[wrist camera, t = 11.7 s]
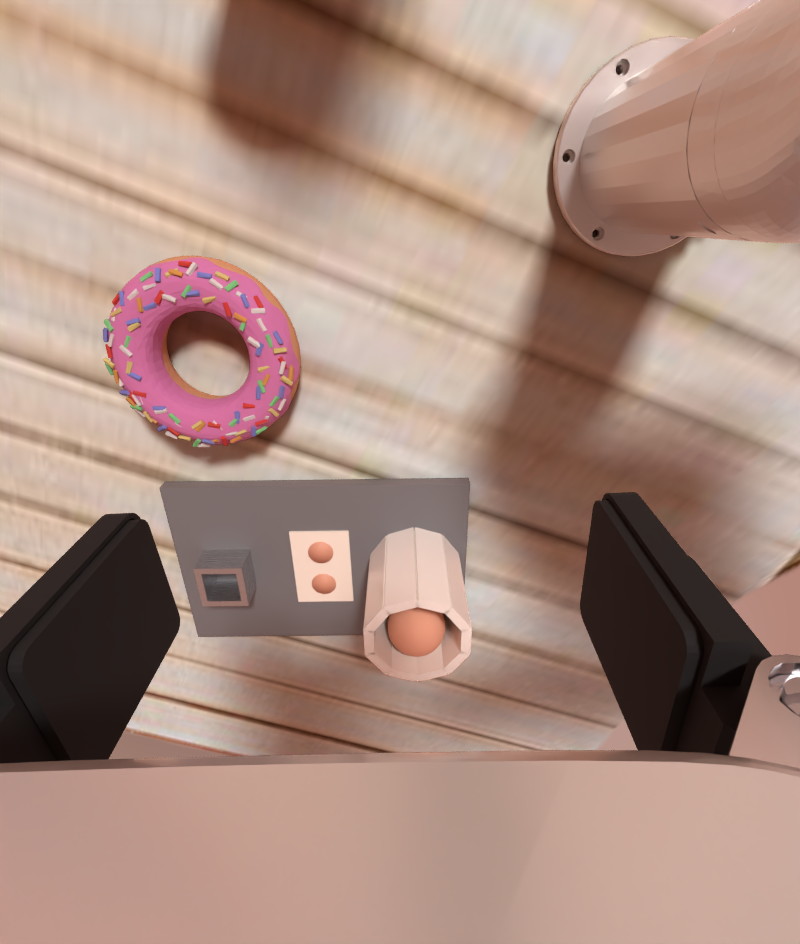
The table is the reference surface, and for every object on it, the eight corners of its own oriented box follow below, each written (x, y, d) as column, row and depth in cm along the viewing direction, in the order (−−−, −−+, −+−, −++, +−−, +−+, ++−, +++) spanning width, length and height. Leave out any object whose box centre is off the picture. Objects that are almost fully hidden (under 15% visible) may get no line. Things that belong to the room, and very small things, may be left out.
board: (468, 477, 47) (470, 486, 45) (460, 625, 55) (462, 636, 53) (165, 481, 47) (157, 489, 45) (202, 628, 55) (197, 639, 54)
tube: (460, 526, 48) (473, 598, 39) (456, 600, 52) (468, 681, 43) (368, 527, 48) (361, 599, 39) (372, 601, 52) (366, 682, 43)
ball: (442, 599, 41) (457, 656, 42) (431, 582, 46) (445, 634, 47) (383, 616, 41) (398, 674, 41) (379, 598, 46) (393, 649, 46)
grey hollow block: (250, 549, 49) (241, 568, 46) (256, 585, 51) (248, 605, 48) (204, 549, 49) (193, 569, 46) (212, 585, 51) (202, 606, 48)
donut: (201, 209, 37) (173, 209, 32) (341, 353, 42) (333, 370, 37) (92, 343, 41) (55, 359, 37) (230, 460, 46) (212, 486, 42)
